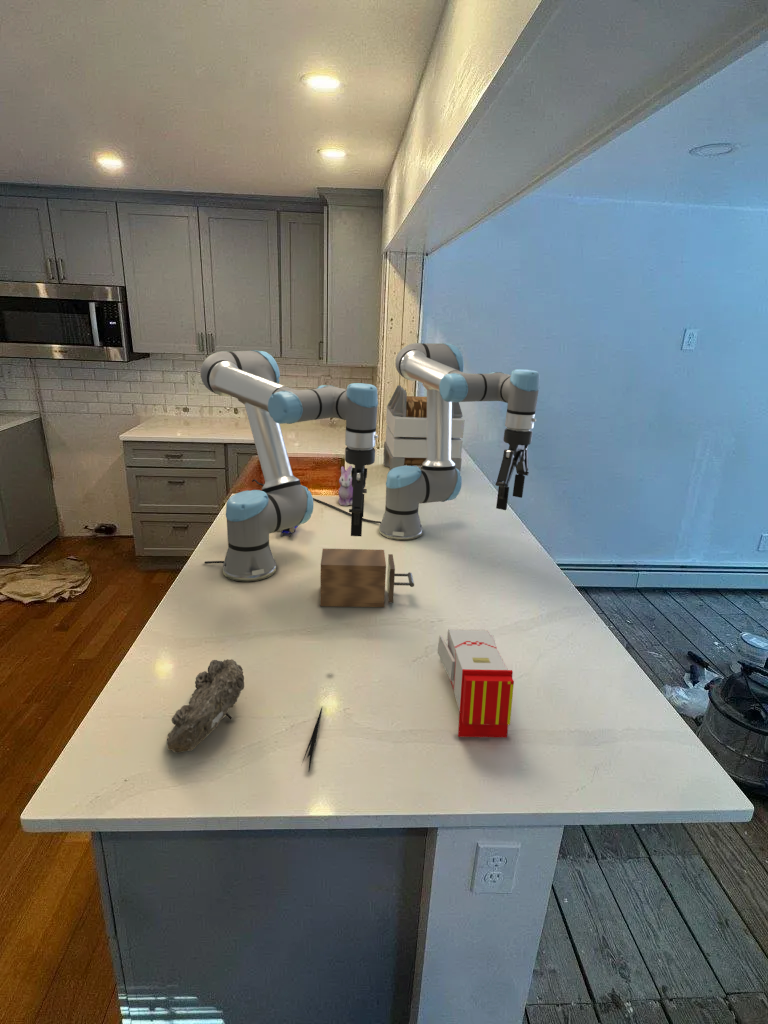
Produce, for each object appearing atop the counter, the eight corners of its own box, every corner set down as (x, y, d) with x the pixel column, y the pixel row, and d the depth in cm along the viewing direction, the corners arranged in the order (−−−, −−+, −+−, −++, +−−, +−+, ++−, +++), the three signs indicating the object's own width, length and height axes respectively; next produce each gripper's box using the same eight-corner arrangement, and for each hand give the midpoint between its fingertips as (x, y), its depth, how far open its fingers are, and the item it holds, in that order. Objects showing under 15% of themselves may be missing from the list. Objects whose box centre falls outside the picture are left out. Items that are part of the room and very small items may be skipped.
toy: (488, 613, 130) (523, 677, 101) (484, 667, 133) (517, 744, 104) (435, 612, 130) (455, 676, 101) (432, 666, 133) (451, 743, 103)
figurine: (342, 507, 223) (343, 470, 218) (332, 499, 231) (332, 464, 226) (364, 504, 227) (365, 468, 222) (353, 497, 236) (354, 462, 230)
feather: (331, 679, 122) (336, 673, 122) (307, 777, 96) (313, 769, 95) (324, 675, 122) (329, 669, 121) (298, 772, 95) (304, 764, 95)
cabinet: (382, 588, 160) (384, 549, 156) (384, 607, 151) (386, 566, 147) (322, 587, 159) (322, 548, 155) (320, 606, 150) (320, 564, 145)
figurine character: (295, 542, 192) (300, 522, 205) (294, 523, 188) (300, 503, 202) (275, 542, 191) (282, 521, 205) (274, 522, 188) (281, 502, 201)
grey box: (382, 463, 289) (386, 382, 275) (445, 464, 293) (451, 384, 279) (390, 482, 257) (394, 392, 243) (460, 483, 261) (468, 394, 247)
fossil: (192, 660, 117) (244, 628, 112) (224, 691, 120) (276, 661, 115) (142, 746, 98) (202, 712, 93) (182, 779, 101) (242, 748, 96)
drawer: (410, 586, 160) (412, 554, 157) (413, 603, 151) (416, 569, 148) (335, 585, 159) (336, 553, 155) (334, 601, 150) (335, 567, 147)
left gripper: (374, 460, 130) (370, 545, 138) (375, 436, 154) (372, 510, 161) (341, 459, 130) (339, 543, 138) (348, 435, 154) (346, 508, 161)
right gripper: (517, 438, 142) (507, 517, 149) (545, 423, 162) (535, 494, 169) (489, 433, 145) (480, 511, 153) (520, 420, 166) (511, 489, 173)
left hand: (357, 525), depth 149 cm, fingers open, 13 cm apart
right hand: (509, 502), depth 161 cm, fingers open, 13 cm apart
